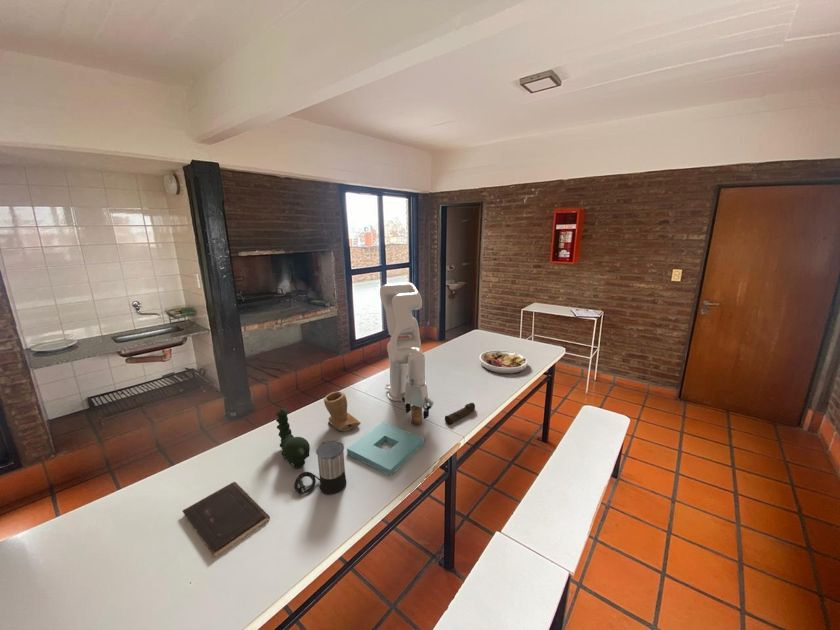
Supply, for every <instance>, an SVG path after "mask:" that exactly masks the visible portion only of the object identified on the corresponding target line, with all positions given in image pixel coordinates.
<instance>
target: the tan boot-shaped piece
mask: <svg viewBox="0 0 840 630" xmlns="http://www.w3.org/2000/svg"><path fill="white" fill-rule="evenodd" d="M323 402H324V407H325V408H326V410H327V412H328V413H329V415H330V416H329V417H328V422H329V423H330V424H331V425H332V426H333V427H334V428H336V429H337V430H339V431H341V432H342V431H344V432H346V431H350V430H354V429H355V428H357V427H358V426H360V425H361V422H360V421H359V420H358V419H357V418H356V417H354V416H353V415H351V414H350V413H349V412H348V400H347V396H346V394H345V393H344V392H342V391H333V392H330V393H329V394H327V395H326V396H325V397H324V399H323Z"/></svg>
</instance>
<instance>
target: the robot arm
mask: <svg viewBox="0 0 840 630" xmlns="http://www.w3.org/2000/svg"><path fill="white" fill-rule="evenodd" d="M379 289H380V290H379V296H380V300H381V303H382V305H383V308H384V310H385V317H386V325H387V330H388V334H389V336H390V339H389V342H387V345H386V350H387V355H388V362H389V364H388V365H389V383H386V385H385V387H384V389H385V390H388V391H387V398H388V399H389V400H391V401H394V402H402V401H403V405H404V406H405V414H408V413H410V412H411V406H412V405H414V406H417V407H422V420H427V418H429V416H430V409H432V408H433V406H434V404H435V402H434V401H433V400H431V398H429V396H428V395H429V392H428V386H427V383H426V370H425V369H426V359H425V358H426V357H425V354H424V352H423V350H422V343H421V335H420V328H419V323H418V319H417V318H416V317H414V316H413V311H416V310H421V309H422V307H423V299H422V296H421V293H420V291H419V290H418V289H417V287H416V285H415V284H414V283H412V282H398V283H397V282H394V283H393V282H392V283H385V284H383V285H382V286H381V287H380V288H379ZM403 336H409V337H403ZM399 337H401V338H399Z"/></svg>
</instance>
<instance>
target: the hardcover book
mask: <svg viewBox="0 0 840 630" xmlns="http://www.w3.org/2000/svg"><path fill="white" fill-rule="evenodd" d="M182 513H183V514H184V516H185V517H186V519H187V520H188V521H189V523H190V525H191V526H192V527H193V528H194V530H195V531H196V533H197V534H198V535H199V537H200V538H201V540H202V541H203V543H204V544H205V546H206V547H207V548H208V550H209V551H210V553H211V554H212V555H213V557H214V558H216V557H218V555H220V554H221V553H223V552H225V551H226V550H227V549H229V548H230V547H231V546H233V545H234V544H235V543H238V542H239V541H240V540H242V539H243V538H245V537H246V536H247V535H249V534H250V533H252V532H253V531H254V530H256V529H258V528H259V527H260V526H261V525H263V524H264V523H266V522H267V521H268V520H269V521H270V519H271V518H270V515H269V514H268V513H267V512H266V511H265V510H264V509H263V508H262V507H261V506H260V505H259V504H258V503H257V502H256V501H255V500H254V499H253V498H252V497H251V496H250V495H249V494H248V493H247V492H246V491H245V490H244V489H243V488H242V487H241V486H240V485H239V484H238V483H237V482H236V481H232V482H231V483H229V484H227V485H226V486H224V487H222V488H220V489H219V490H216V491H215V492H213V493H211V494H210V495H208V496H206V497H205V498H204V497H203V498H202V499H201V500H199V501H197V502H195V503H194V504H192V505H190V506H188V507H186V508H185V509H182Z"/></svg>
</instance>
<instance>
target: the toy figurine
mask: <svg viewBox="0 0 840 630" xmlns="http://www.w3.org/2000/svg"><path fill="white" fill-rule="evenodd" d="M275 415H276V416H277V418H276V420H275V421H276V423H278V425H277V426H276V429H277V430H279V432H278V434H277V435H278V437H280V443H279V447H280V448H281V450H282V451H281V455H282V456H283V459H284V461H286V462H288V464H289V465H292V466H293V468H295V469H300V468H303V466H305V463H306V459H307V458H309V457H310V451H311V446H310V443H309V441H308V440H307V439H306V438H304V437H301V436H295V437H294V435H293V434H292V430H291V428H290V427H291V426H290V425H291V424H290V423H289V422H288V421H289V418H288V411H287V408H280V409H279V410H278V412H276V413H275Z"/></svg>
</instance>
